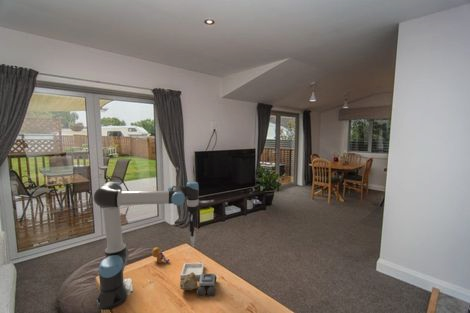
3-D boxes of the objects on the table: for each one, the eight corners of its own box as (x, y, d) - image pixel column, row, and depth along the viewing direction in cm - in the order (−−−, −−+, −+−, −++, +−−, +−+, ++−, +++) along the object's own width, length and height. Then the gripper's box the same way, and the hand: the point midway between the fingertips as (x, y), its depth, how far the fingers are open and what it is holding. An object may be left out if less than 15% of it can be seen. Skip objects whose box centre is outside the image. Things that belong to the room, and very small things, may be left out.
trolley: (196, 296, 130) (196, 284, 129) (199, 281, 144) (199, 269, 143) (215, 296, 130) (215, 284, 130) (216, 281, 144) (216, 269, 144)
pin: (189, 246, 149) (189, 228, 147) (190, 243, 152) (190, 226, 151) (195, 246, 149) (195, 228, 147) (196, 243, 152) (196, 226, 151)
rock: (196, 295, 133) (198, 283, 130) (178, 296, 131) (180, 283, 127) (196, 278, 144) (198, 266, 141) (179, 279, 142) (181, 266, 138)
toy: (171, 255, 160) (157, 241, 165) (162, 263, 155) (148, 248, 159) (169, 263, 169) (155, 249, 173) (161, 270, 164) (147, 256, 168)
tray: (180, 279, 145) (180, 275, 145) (184, 266, 159) (184, 262, 159) (202, 279, 146) (202, 274, 145) (203, 266, 160) (204, 262, 159)
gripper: (197, 209, 140) (197, 244, 142) (199, 201, 156) (199, 233, 158) (185, 209, 140) (185, 244, 142) (189, 201, 155) (189, 233, 158)
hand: (192, 239), depth 150 cm, fingers closed on pin, 3 cm apart
